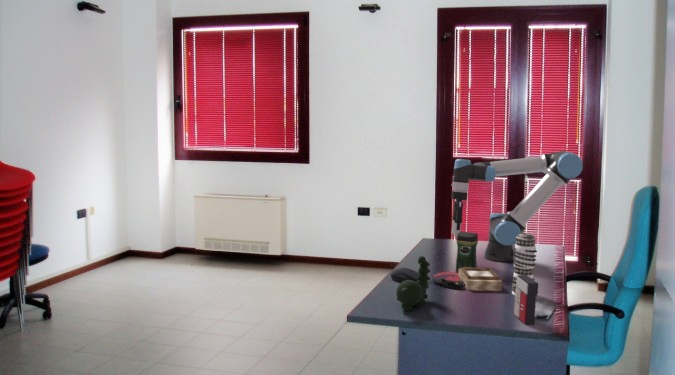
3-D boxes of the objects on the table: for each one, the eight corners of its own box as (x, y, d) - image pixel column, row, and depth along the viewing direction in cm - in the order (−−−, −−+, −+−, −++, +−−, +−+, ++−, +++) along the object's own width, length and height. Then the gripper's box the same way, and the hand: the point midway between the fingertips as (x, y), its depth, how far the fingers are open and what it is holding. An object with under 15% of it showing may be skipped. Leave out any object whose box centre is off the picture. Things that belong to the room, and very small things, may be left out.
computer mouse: (394, 276, 285) (394, 264, 284) (465, 286, 271) (466, 273, 271) (386, 281, 276) (387, 269, 275) (460, 292, 263) (460, 279, 262)
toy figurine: (411, 300, 255) (388, 312, 232) (415, 253, 254) (392, 260, 231) (434, 304, 250) (413, 316, 228) (437, 256, 249) (416, 263, 227)
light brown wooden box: (489, 277, 284) (490, 266, 284) (501, 290, 264) (502, 278, 264) (458, 277, 284) (458, 265, 283) (467, 290, 264) (468, 278, 264)
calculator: (512, 314, 234) (515, 274, 232) (524, 314, 234) (526, 274, 232) (524, 325, 223) (526, 283, 221) (536, 324, 224) (538, 283, 222)
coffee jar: (478, 271, 296) (480, 231, 293) (474, 275, 289) (476, 234, 286) (457, 268, 300) (459, 229, 297) (453, 272, 293) (455, 232, 290)
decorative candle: (535, 292, 263) (539, 233, 260) (532, 298, 255) (536, 237, 251) (512, 289, 267) (516, 230, 264) (509, 295, 258) (512, 234, 255)
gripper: (449, 189, 318) (445, 232, 319) (454, 191, 294) (450, 237, 294) (464, 191, 318) (460, 233, 319) (471, 193, 293) (466, 239, 294)
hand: (455, 235), depth 306 cm, fingers open, 13 cm apart
